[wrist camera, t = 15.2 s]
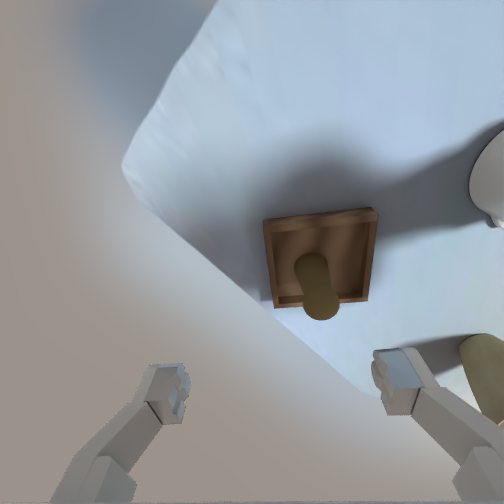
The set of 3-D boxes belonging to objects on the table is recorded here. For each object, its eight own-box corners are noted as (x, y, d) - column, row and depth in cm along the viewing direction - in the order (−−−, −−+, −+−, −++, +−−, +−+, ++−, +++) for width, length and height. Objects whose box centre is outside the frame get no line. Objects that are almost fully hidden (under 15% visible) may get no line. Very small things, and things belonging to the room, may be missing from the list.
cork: (311, 285, 47) (323, 332, 37) (286, 269, 45) (292, 314, 36) (335, 264, 44) (354, 309, 35) (310, 246, 42) (323, 288, 33)
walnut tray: (370, 207, 39) (378, 214, 37) (362, 290, 48) (367, 301, 45) (263, 219, 41) (263, 227, 39) (273, 297, 50) (274, 308, 47)
